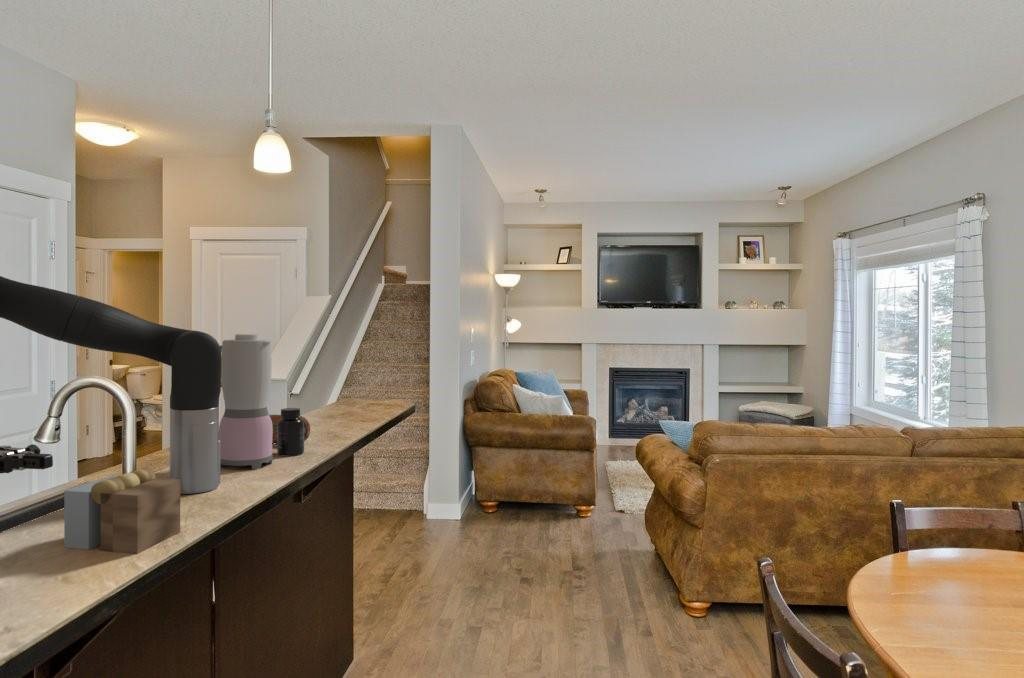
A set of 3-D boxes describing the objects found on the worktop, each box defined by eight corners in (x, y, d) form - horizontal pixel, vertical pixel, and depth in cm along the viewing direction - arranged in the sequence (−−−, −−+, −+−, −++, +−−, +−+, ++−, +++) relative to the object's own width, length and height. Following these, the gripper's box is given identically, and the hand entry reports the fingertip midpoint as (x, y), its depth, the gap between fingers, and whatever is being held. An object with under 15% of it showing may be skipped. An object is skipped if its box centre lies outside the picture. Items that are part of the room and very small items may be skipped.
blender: (282, 460, 161) (283, 334, 159) (255, 472, 149) (256, 335, 147) (226, 457, 163) (227, 332, 162) (194, 468, 151) (195, 334, 150)
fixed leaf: (137, 528, 109) (137, 466, 108) (180, 531, 107) (180, 469, 107) (90, 549, 99) (90, 481, 98) (137, 553, 98) (137, 484, 97)
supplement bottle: (293, 449, 174) (294, 406, 173) (309, 453, 170) (309, 408, 169) (271, 453, 168) (271, 408, 168) (286, 457, 164) (287, 411, 164)
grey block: (113, 526, 109) (113, 465, 109) (155, 530, 108) (155, 467, 108) (64, 547, 99) (64, 479, 99) (110, 551, 98) (110, 482, 98)
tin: (257, 443, 182) (257, 414, 181) (263, 441, 185) (263, 412, 184) (306, 446, 179) (306, 416, 179) (311, 444, 182) (312, 415, 182)
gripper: (-85, 444, 100) (11, 448, 98) (-6, 428, 113) (80, 431, 111) (-83, 491, 101) (13, 495, 98) (-4, 470, 114) (82, 473, 111)
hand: (49, 461), depth 105 cm, fingers closed
